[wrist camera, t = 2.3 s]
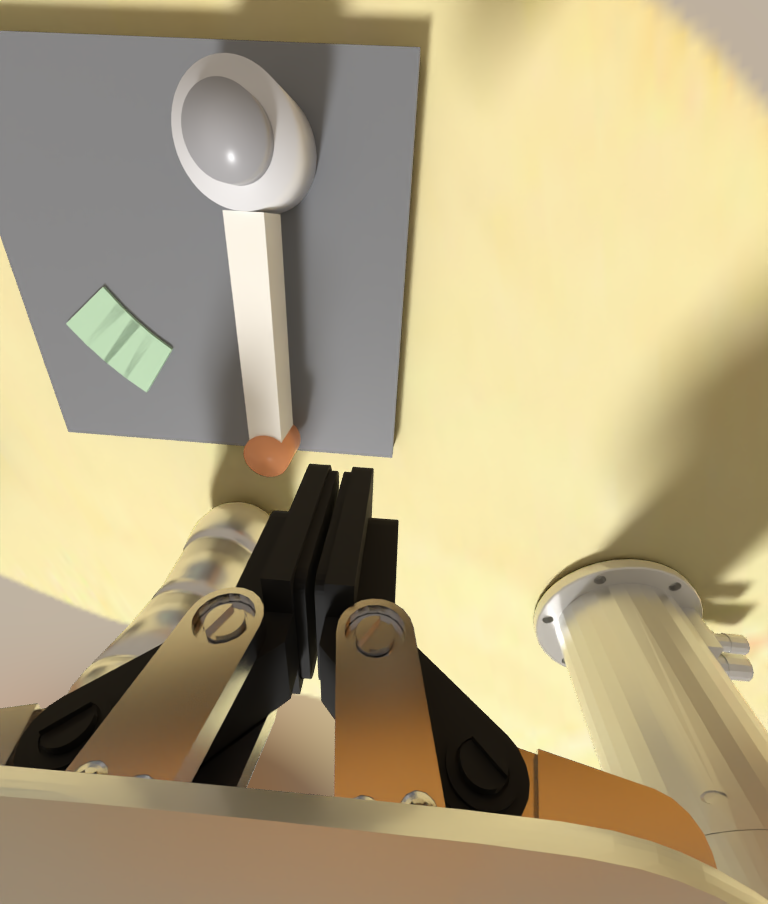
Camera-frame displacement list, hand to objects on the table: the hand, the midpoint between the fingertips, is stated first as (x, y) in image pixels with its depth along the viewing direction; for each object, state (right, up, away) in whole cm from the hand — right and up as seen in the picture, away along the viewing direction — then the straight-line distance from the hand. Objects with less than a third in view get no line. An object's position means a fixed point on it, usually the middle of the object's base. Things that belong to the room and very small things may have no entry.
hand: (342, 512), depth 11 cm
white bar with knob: (-5, +10, +12) cm, 16 cm away
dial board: (-9, +12, +13) cm, 19 cm away
